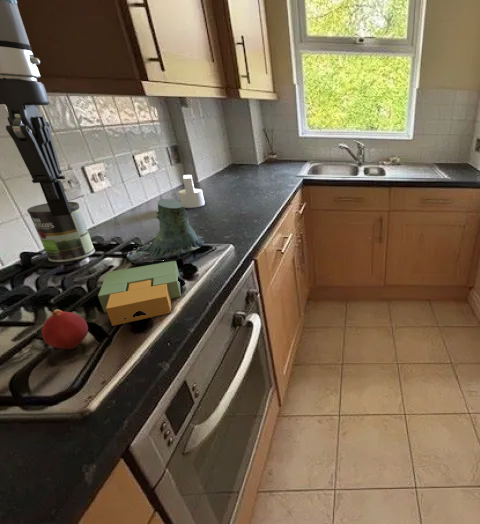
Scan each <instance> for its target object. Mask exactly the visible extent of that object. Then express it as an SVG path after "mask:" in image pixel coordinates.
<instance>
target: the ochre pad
mask: <svg viewBox="0 0 480 524" xmlns="http://www.w3.org/2000/svg"><path fill="white" fill-rule="evenodd" d="M106 311H107V312H106V313H107V315H108V318H109V321H110V323H111V326H112V327H114V326H118V325H124V324H127V323H131V322H136V321H141V320H145V319H149V318H155V317H158V316H163V315H168V314H171V313H172V299H171V298H170V294H169V291H168V287H167V284H162V285H157V286H153V285H152V281H151V280H147V281H142V282H136V283H131V284H129V288H128V291H125V292H120V293H115V294H110V297H109V300H108V303H107V307H106ZM138 311H142V312H145V313H148V314H146V315H140V316H135V317H133V315H134V314H135V313H136V312H138ZM123 318H126V319H123ZM121 319H122V320H121Z"/></svg>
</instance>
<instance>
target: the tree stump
mask: <svg viewBox="0 0 480 524" xmlns="http://www.w3.org/2000/svg"><path fill="white" fill-rule="evenodd" d="M156 204H157V211H156V214H157V216H156V217H155V219H158V222H159V231H158V232H157V233H156V234H155V237H154V240H153V241H152V242H151V243H149V244H146V245H142V246H138V247H137V248H134V247H133V250H131V251H129V253H128V254H127V255H126V258H127V260H128V261H129V262H131V263H133V264H134V265H142V266H147V265H153V264H159V263H165V262H171V261H179V260H184V259H185V258H187V257H188V256H190V255H191V254H193V252H195V251H197V250H198V249H200V248H202V246H204V244H205V241H204V237H203V236H199V235H197V233H196V231H195V230H194V229H193V227H192V226H191V224H190V222H189V215H188V214H187V209H186V208H184V206H183V204H182V203H181V201H180V200H176V199H170V198H163V199H159V200H158V201H157V203H156ZM146 253H151V256H154V257H156V258H157V259H154V260H164V261H153V262H142V263H139V262H137V261H134V260H137V258H139V257H140V256H142V255H143V254H146ZM175 256H177V257H180V258H178V259H169V258H171V257H175ZM147 258H148V257H144V258H143V259H147ZM149 258H150V257H149ZM137 263H138V264H137Z"/></svg>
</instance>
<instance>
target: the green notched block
mask: <svg viewBox="0 0 480 524" xmlns="http://www.w3.org/2000/svg"><path fill="white" fill-rule="evenodd" d="M178 276H179V277H180V271H179V268H178V264H177V260H175V261H170V262H165V263H155V264H146V265H140V266H136V267H130V268H124V269H118V270H111V271H106V273H105V276H104V279H103V282H102V284H101V287H100V289H99V292H98V294H97V298H98V300H99V302H100V305H101V308H102V310H103V313H107V311H106V307H107V303H108V300H109V297H110V294H115V293H120V292H125V291H128V288H129V284H131V283H136V282H142V281H147V280H151V281H152V285H153V286H157V285H162V284H167V287H168V291H169V294H170V298H171V300H172V299H176V298H180V297H181V296H182V293H181V281H180V282H179V281H178Z"/></svg>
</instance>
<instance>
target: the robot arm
mask: <svg viewBox="0 0 480 524" xmlns="http://www.w3.org/2000/svg"><path fill="white" fill-rule="evenodd" d="M22 19H23V18H22V16H21V13H20V9H19V7H18V0H0V105H4V106H6V111H7V114H8V116H7V121H8V125H5V130H6V131H7V134H9V136H10V138H11V139H12V140H13V142H14V144H15V146H16V148H17V150H18V152H19V154H20V157H21V158H22V160H23V163H24V164H25V166H26V168H27V170H28V173H29V175H30V177H31V179H32V180H31V182H32V183H33V184H39V185H40V188H41V191H42V193H43V196H44V198H45V201H46V203H47V204H48V206H49V209H50V211H51V214H52V216H63V215H71V213H72V211H71V209H70V206H69V203H68V202H69V200H68V198H67V195H66V192H65V189H64V186H63V184H62V181H61V180H66V175H62V173H63V172H62V169H61V166H60V162H59V159H58V155H57V151H56V148H55V144H54V140H53V137H52V133H51V125H50V122H48V121H47V120H46V118H45V117H44V116H42V114H41V112H40V111H39V109H38V107H37V106H48V105H50V100H49V96H48V93H47V90H46V87H45V84H44V83H42V81H38V79H39V78H41V74H40V71H39V68H38V66H37V65H40V64H41V60H40V58H38V57H34V53H33V49H32V46H31V44H30V40H29V38H28V35H27V32H26V28H25V25H24V21H23V20H22Z"/></svg>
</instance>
